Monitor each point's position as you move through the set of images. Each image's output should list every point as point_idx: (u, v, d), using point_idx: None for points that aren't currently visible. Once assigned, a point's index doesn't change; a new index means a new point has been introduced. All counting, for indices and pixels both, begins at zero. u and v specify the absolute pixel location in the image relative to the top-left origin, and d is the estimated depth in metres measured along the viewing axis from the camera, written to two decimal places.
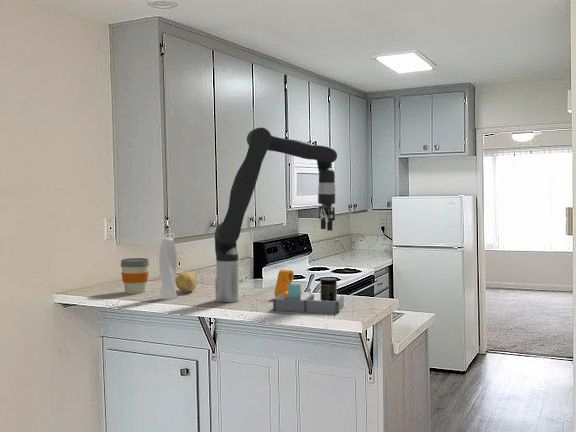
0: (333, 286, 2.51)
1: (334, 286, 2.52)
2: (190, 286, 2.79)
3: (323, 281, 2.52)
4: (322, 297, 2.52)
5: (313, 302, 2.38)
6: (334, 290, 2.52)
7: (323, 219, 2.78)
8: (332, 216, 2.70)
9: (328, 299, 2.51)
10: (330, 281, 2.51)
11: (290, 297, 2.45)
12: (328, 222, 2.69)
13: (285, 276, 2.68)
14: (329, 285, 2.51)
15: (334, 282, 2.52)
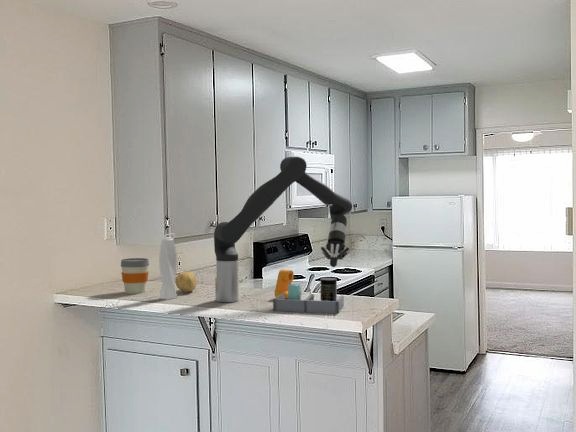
0: (333, 286, 2.51)
1: (334, 286, 2.52)
2: (190, 286, 2.79)
3: (323, 281, 2.52)
4: (322, 297, 2.52)
5: (313, 302, 2.38)
6: (334, 290, 2.52)
7: None
8: None
9: (328, 299, 2.51)
10: (330, 281, 2.51)
11: (290, 297, 2.45)
12: (335, 258, 2.67)
13: (285, 276, 2.68)
14: (329, 285, 2.51)
15: (334, 282, 2.52)
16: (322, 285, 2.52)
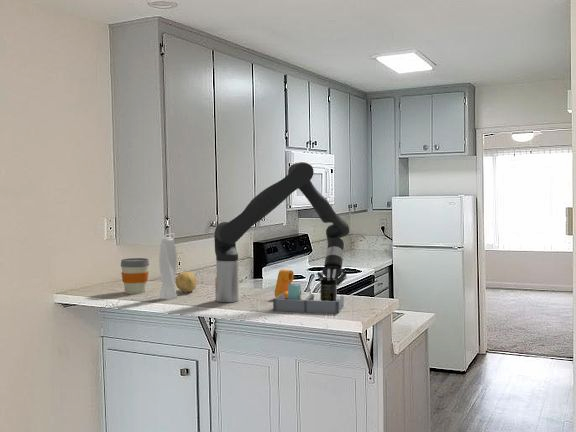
0: (333, 286, 2.51)
1: (334, 286, 2.51)
2: (190, 286, 2.79)
3: (323, 281, 2.51)
4: (322, 297, 2.52)
5: (313, 302, 2.38)
6: (334, 290, 2.51)
7: None
8: None
9: (328, 299, 2.50)
10: (330, 281, 2.50)
11: (290, 297, 2.45)
12: None
13: (285, 276, 2.68)
14: (329, 285, 2.50)
15: (334, 282, 2.51)
16: (322, 285, 2.52)
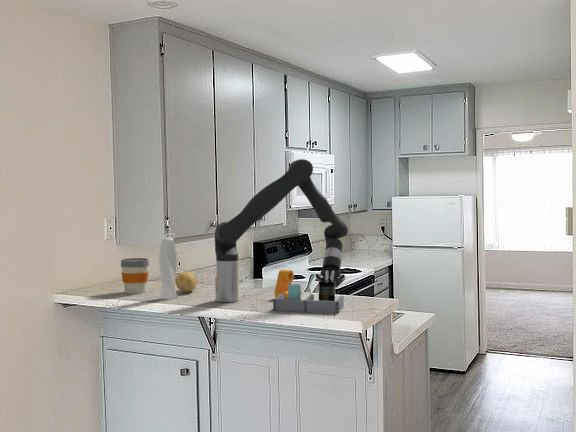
0: (331, 288, 2.46)
1: (332, 288, 2.46)
2: (190, 286, 2.79)
3: (321, 283, 2.46)
4: (320, 299, 2.47)
5: (313, 302, 2.38)
6: (332, 292, 2.46)
7: None
8: None
9: None
10: (328, 283, 2.45)
11: (290, 297, 2.45)
12: None
13: (285, 276, 2.68)
14: (327, 287, 2.45)
15: (332, 284, 2.46)
16: (320, 287, 2.46)
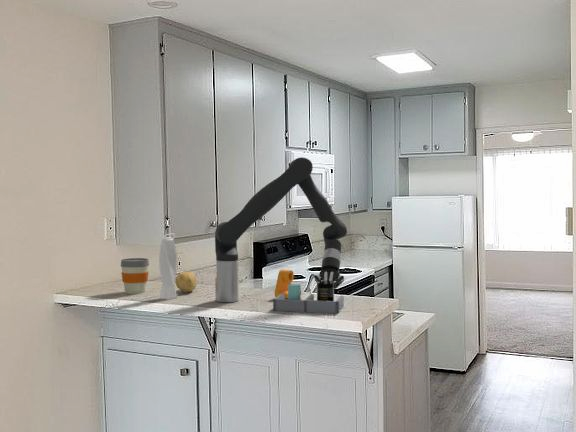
0: (330, 290, 2.42)
1: (331, 290, 2.42)
2: (190, 286, 2.79)
3: (319, 285, 2.42)
4: None
5: (313, 302, 2.38)
6: (331, 294, 2.42)
7: None
8: None
9: None
10: (327, 285, 2.41)
11: (290, 297, 2.45)
12: None
13: (285, 276, 2.68)
14: (326, 289, 2.41)
15: (331, 286, 2.42)
16: (318, 289, 2.43)
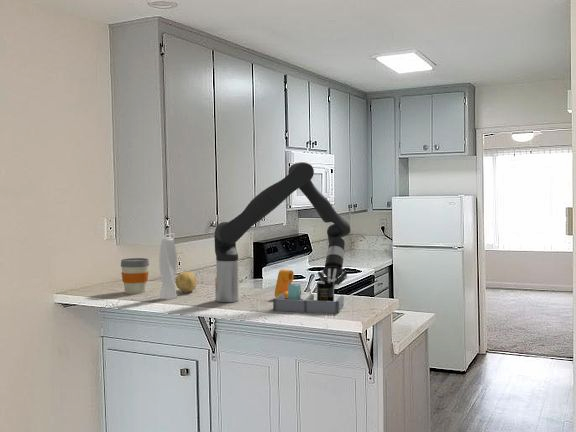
0: (330, 290, 2.42)
1: (331, 290, 2.42)
2: (190, 286, 2.79)
3: (319, 285, 2.42)
4: None
5: (313, 302, 2.38)
6: (331, 294, 2.42)
7: None
8: None
9: None
10: (327, 285, 2.41)
11: (290, 297, 2.45)
12: None
13: (285, 276, 2.68)
14: (326, 289, 2.41)
15: (331, 286, 2.42)
16: (318, 289, 2.43)
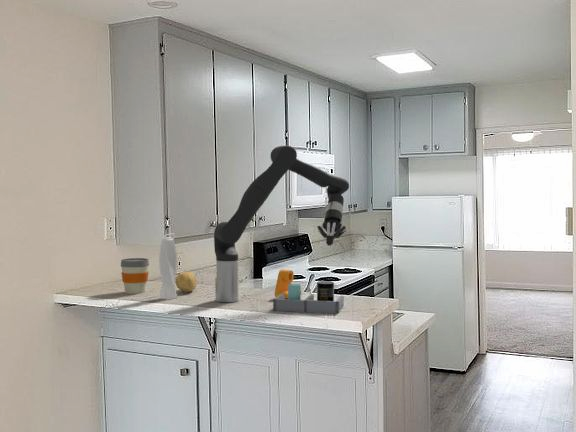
0: (330, 290, 2.42)
1: (331, 290, 2.42)
2: (190, 286, 2.79)
3: (319, 285, 2.42)
4: None
5: (313, 302, 2.38)
6: (331, 294, 2.42)
7: None
8: None
9: None
10: (327, 285, 2.41)
11: (290, 297, 2.45)
12: (331, 236, 2.65)
13: (285, 276, 2.68)
14: (326, 289, 2.41)
15: (331, 286, 2.42)
16: (318, 289, 2.43)
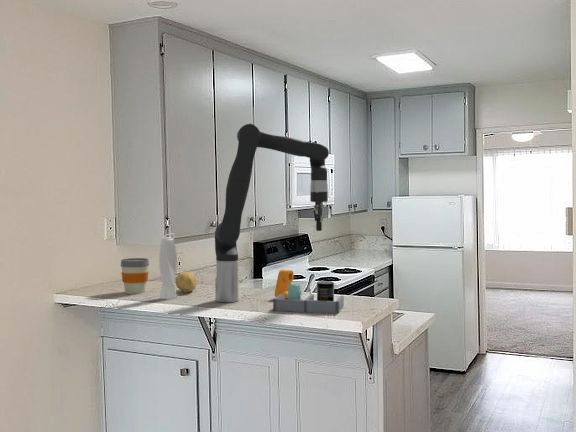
0: (330, 290, 2.42)
1: (331, 290, 2.42)
2: (190, 286, 2.79)
3: (319, 285, 2.42)
4: None
5: (313, 302, 2.38)
6: (331, 294, 2.42)
7: None
8: (321, 217, 2.68)
9: None
10: (327, 285, 2.41)
11: (290, 297, 2.45)
12: (317, 222, 2.69)
13: (285, 276, 2.68)
14: (326, 289, 2.41)
15: (331, 286, 2.42)
16: (318, 289, 2.43)
